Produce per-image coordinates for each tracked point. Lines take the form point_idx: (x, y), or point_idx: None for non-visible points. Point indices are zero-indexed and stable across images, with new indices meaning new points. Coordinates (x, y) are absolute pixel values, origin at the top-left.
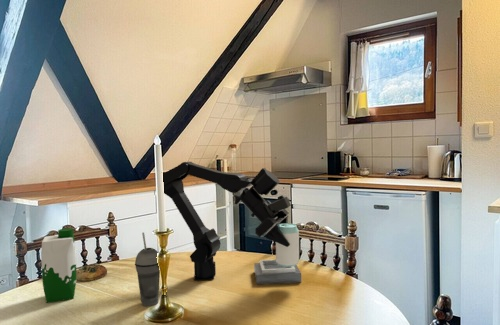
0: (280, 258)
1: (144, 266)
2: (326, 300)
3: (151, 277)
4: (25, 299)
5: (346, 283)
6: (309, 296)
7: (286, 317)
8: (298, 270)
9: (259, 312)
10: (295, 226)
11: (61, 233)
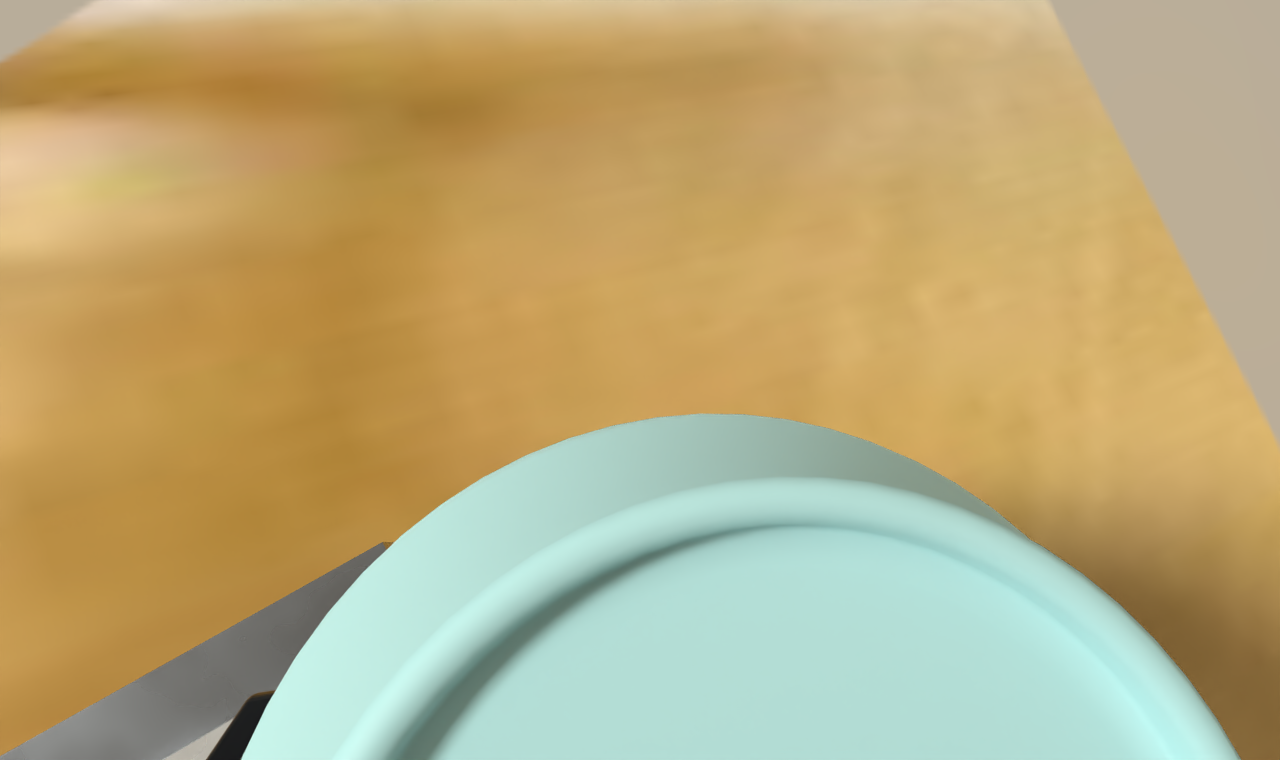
0: None
1: None
2: (767, 173)
3: None
4: None
5: (253, 65)
6: (745, 339)
7: (1203, 393)
8: (288, 615)
9: (1239, 640)
10: (876, 488)
11: None
